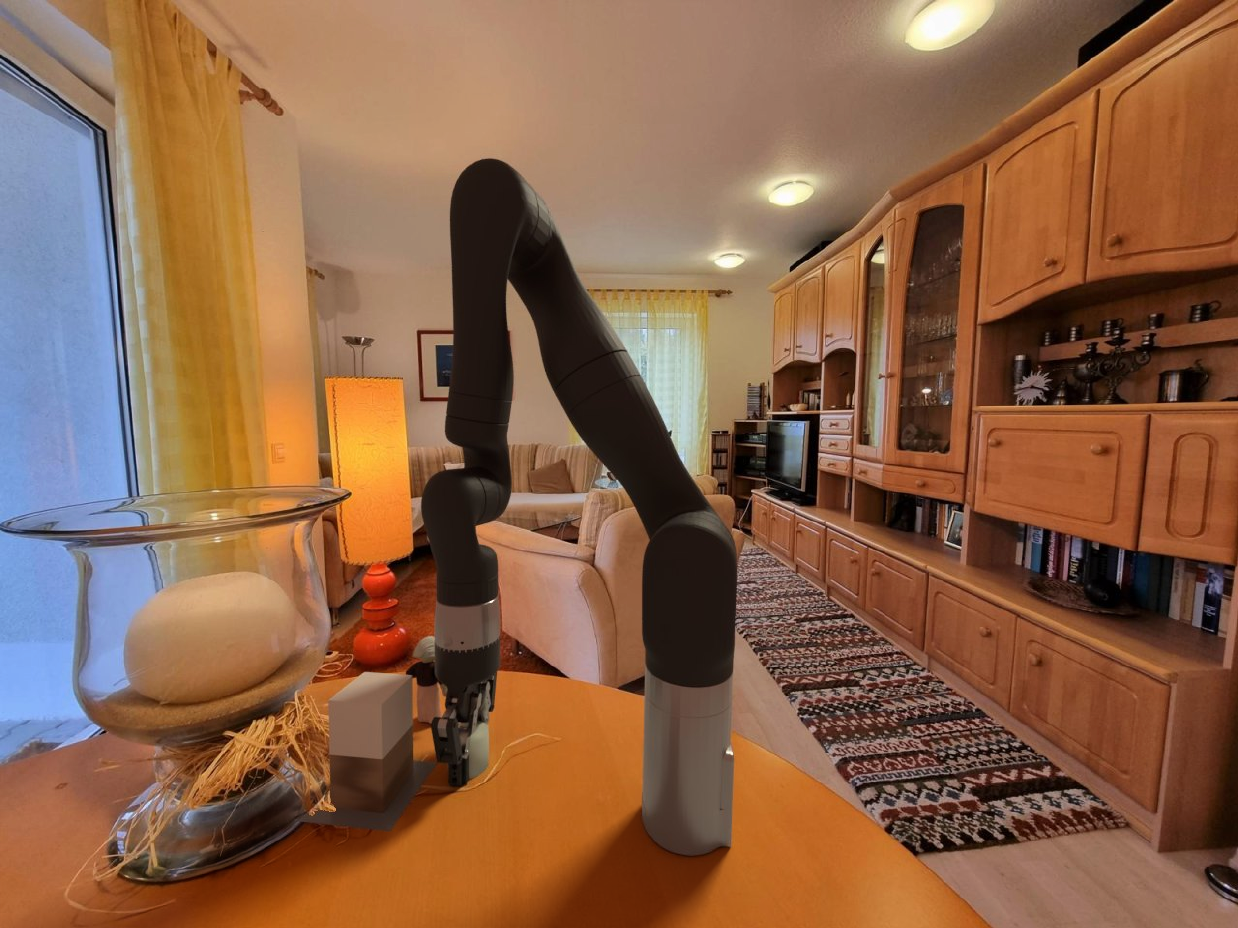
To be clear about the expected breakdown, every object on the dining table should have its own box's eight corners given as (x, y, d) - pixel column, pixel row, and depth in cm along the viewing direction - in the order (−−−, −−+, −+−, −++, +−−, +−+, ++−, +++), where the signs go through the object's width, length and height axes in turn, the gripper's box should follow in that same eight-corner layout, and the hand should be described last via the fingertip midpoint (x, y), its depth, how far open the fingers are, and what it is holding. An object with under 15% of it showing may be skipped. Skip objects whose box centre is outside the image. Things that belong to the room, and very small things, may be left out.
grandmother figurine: (460, 718, 68) (459, 633, 67) (446, 735, 64) (445, 645, 63) (411, 713, 69) (409, 629, 68) (394, 729, 65) (393, 640, 64)
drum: (494, 759, 59) (494, 722, 59) (479, 788, 55) (479, 747, 54) (458, 756, 60) (458, 719, 59) (440, 784, 55) (440, 743, 55)
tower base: (413, 772, 56) (412, 724, 55) (383, 812, 50) (382, 759, 49) (366, 768, 56) (365, 720, 56) (330, 807, 50) (329, 754, 50)
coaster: (437, 768, 58) (437, 762, 58) (390, 837, 48) (389, 830, 48) (361, 761, 59) (361, 755, 59) (299, 828, 49) (299, 820, 49)
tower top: (412, 724, 55) (412, 675, 55) (382, 759, 49) (381, 704, 49) (365, 720, 56) (364, 671, 56) (329, 754, 50) (328, 700, 50)
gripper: (473, 664, 49) (474, 820, 50) (517, 612, 63) (516, 734, 64) (405, 659, 49) (407, 813, 50) (463, 609, 64) (464, 729, 65)
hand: (468, 768), depth 57 cm, fingers closed on drum, 4 cm apart
